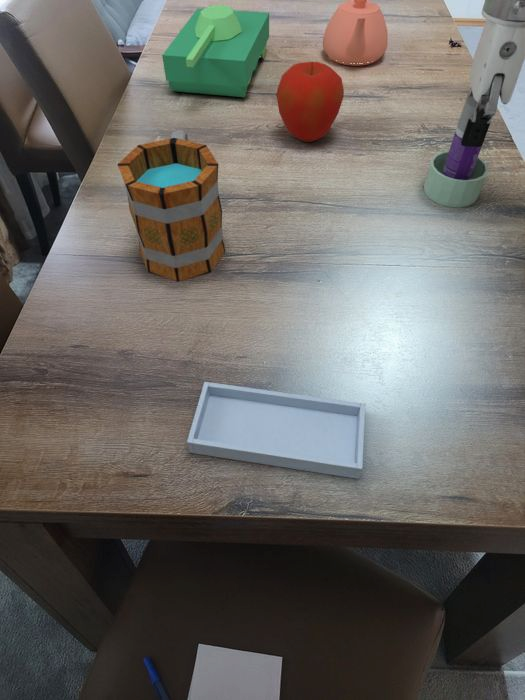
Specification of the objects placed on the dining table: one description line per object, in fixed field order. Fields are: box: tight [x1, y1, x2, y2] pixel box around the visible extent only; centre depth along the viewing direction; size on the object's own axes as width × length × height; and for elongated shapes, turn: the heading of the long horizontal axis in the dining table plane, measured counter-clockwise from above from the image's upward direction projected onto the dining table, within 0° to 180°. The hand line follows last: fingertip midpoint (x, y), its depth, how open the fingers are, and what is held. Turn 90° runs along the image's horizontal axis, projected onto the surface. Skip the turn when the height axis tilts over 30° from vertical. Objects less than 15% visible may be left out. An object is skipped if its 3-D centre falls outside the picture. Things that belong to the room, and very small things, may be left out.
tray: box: [186, 381, 366, 480], centre depth 56 cm, size 19×8×3 cm, turn 80°
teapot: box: [322, 0, 389, 67], centre depth 116 cm, size 22×16×12 cm
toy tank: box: [161, 4, 270, 98], centre depth 109 cm, size 18×12×35 cm
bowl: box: [423, 150, 490, 208], centre depth 85 cm, size 9×9×5 cm
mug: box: [117, 129, 227, 282], centre depth 73 cm, size 20×14×15 cm
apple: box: [275, 61, 345, 143], centre depth 92 cm, size 12×12×14 cm
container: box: [442, 96, 488, 180], centre depth 80 cm, size 5×5×15 cm
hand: (469, 135), depth 78 cm, fingers closed on container, 4 cm apart
